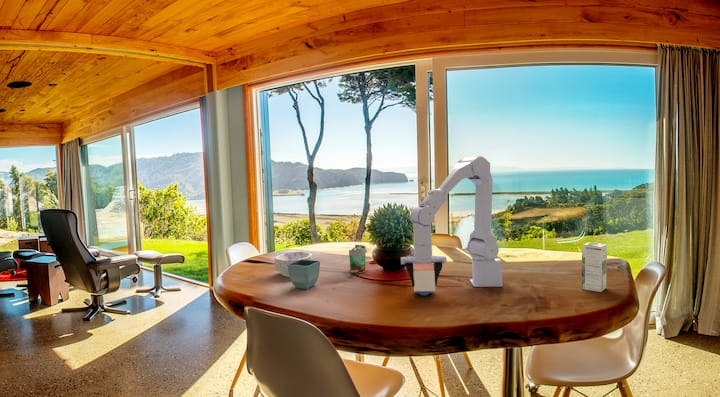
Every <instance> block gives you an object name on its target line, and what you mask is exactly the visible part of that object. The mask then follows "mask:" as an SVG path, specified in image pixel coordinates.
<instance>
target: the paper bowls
mask: <svg viewBox="0 0 720 397" xmlns="http://www.w3.org/2000/svg"><path fill="white" fill-rule="evenodd" d="M298 260H313V254H312V253H311V252H307V251H292V252H285V253H281V254H278V255H276V256H275V257H274V263H275V264H274V268H275V271H278V272H280V274H281V275H282V276H283V277H286V278H290V277H289V271H288V264H290V263H293V262H296V261H298Z"/></svg>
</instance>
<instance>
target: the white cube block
mask: <svg viewBox="0 0 720 397" xmlns="http://www.w3.org/2000/svg"><path fill="white" fill-rule="evenodd" d="M413 274H414V286H413V291H414V292H417V291H431V292H436V286H435V274H434V269H431V270H429V269H428V270H413Z"/></svg>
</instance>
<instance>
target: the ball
mask: <svg viewBox="0 0 720 397" xmlns="http://www.w3.org/2000/svg"><path fill="white" fill-rule="evenodd" d="M416 292H417V293H418V294H419V295H420V296H424V297H425V296H428V295H430V293H431V292H432V291H416Z"/></svg>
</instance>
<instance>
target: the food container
mask: <svg viewBox="0 0 720 397" xmlns="http://www.w3.org/2000/svg"><path fill="white" fill-rule="evenodd" d="M367 253H368V249H367V246H365V245H362V244H355V245H354V247H353V248H352V249H349V250H348V257H349V271H350V275H356V274H355V273H359V272H363V271H365V272H366V261H367V260H366V259H367V258H366V256H367ZM363 273H364V272H363Z"/></svg>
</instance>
